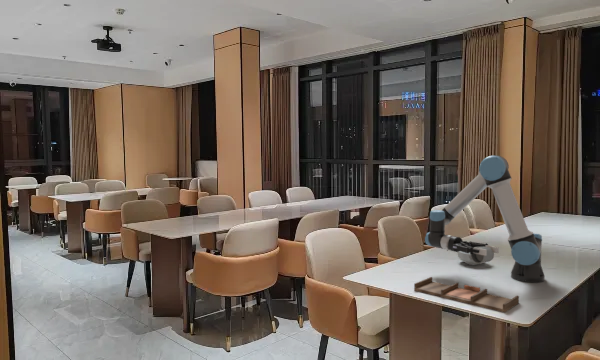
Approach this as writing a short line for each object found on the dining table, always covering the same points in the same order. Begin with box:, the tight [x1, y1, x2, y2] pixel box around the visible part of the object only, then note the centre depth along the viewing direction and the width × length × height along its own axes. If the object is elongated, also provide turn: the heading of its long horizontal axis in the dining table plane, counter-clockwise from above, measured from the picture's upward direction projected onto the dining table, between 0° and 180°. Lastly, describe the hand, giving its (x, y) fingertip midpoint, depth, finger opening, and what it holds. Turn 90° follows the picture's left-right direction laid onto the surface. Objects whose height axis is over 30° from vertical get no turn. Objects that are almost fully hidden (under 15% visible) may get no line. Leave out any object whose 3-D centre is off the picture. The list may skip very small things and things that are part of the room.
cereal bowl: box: [457, 251, 482, 266], centre depth 257 cm, size 17×17×7 cm
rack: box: [413, 277, 520, 313], centre depth 199 cm, size 41×16×3 cm, turn 45°
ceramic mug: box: [469, 247, 495, 264], centre depth 214 cm, size 11×8×8 cm
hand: (492, 251), depth 209 cm, fingers closed on ceramic mug, 8 cm apart
